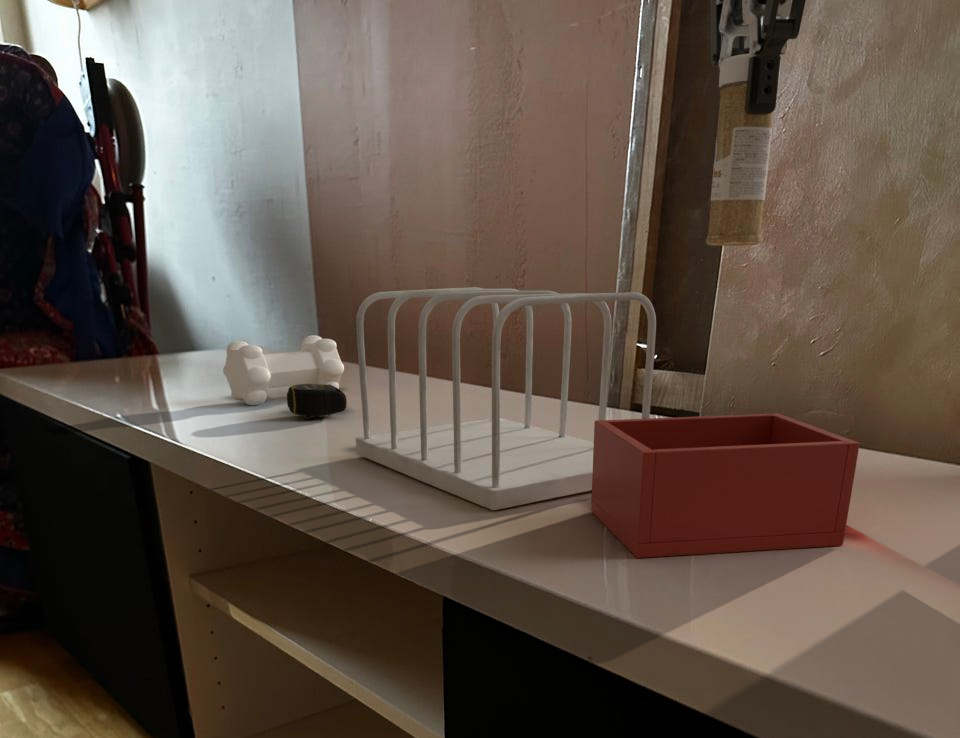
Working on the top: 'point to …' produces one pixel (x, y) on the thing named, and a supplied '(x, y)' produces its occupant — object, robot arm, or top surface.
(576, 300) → the file sorter
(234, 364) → the bone shaped toy
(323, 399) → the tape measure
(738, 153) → the sprinkles bottle
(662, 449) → the red storage bin
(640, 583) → the top surface
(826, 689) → the top surface
